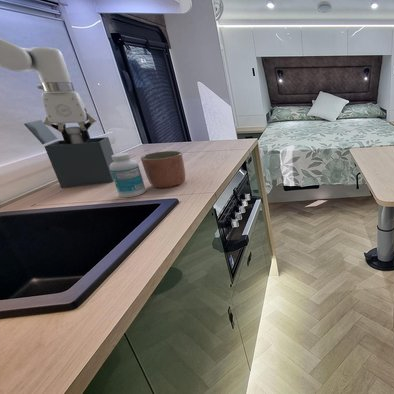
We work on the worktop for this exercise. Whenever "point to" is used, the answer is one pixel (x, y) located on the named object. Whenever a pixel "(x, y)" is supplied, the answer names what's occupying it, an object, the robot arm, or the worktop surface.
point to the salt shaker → (75, 135)
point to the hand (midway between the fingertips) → (78, 141)
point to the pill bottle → (126, 175)
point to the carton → (81, 162)
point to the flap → (41, 131)
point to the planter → (164, 168)
